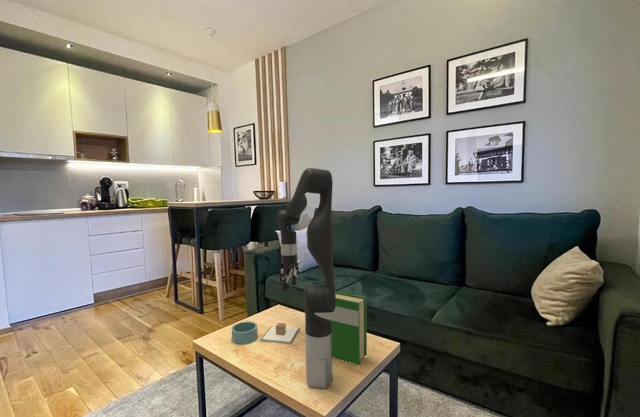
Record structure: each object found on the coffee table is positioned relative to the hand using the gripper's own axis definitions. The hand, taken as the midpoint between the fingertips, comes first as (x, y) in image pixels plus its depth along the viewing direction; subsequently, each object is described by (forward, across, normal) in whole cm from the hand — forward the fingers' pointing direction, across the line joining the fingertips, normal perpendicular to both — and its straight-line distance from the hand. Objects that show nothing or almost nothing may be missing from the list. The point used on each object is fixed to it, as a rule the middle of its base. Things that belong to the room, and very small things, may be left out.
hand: (289, 287), depth 134 cm
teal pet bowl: (+22, -12, +17) cm, 30 cm away
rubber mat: (+22, -4, +3) cm, 22 cm away
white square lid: (+21, -4, +3) cm, 22 cm away
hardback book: (+22, -9, -28) cm, 37 cm away
